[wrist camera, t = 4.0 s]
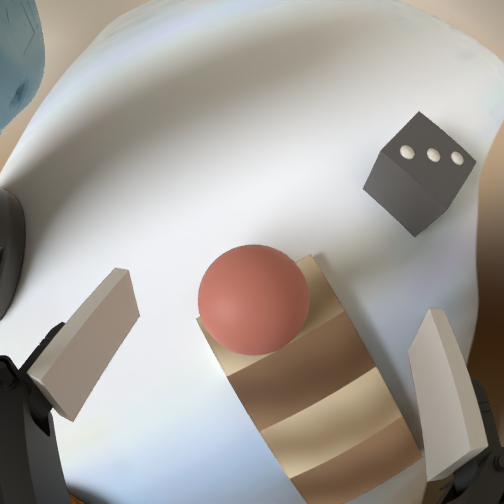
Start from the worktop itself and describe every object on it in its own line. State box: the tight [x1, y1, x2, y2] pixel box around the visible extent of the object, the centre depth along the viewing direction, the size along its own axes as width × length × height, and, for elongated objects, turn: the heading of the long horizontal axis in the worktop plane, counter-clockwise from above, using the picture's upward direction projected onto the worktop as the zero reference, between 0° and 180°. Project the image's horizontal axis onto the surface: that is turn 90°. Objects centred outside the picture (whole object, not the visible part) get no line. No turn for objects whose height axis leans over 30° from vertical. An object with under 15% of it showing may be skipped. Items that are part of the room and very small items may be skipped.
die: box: [363, 112, 476, 237], centre depth 17 cm, size 5×5×5 cm
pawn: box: [198, 245, 310, 356], centre depth 12 cm, size 4×4×11 cm
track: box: [196, 254, 422, 504], centre depth 16 cm, size 16×8×1 cm, turn 29°
